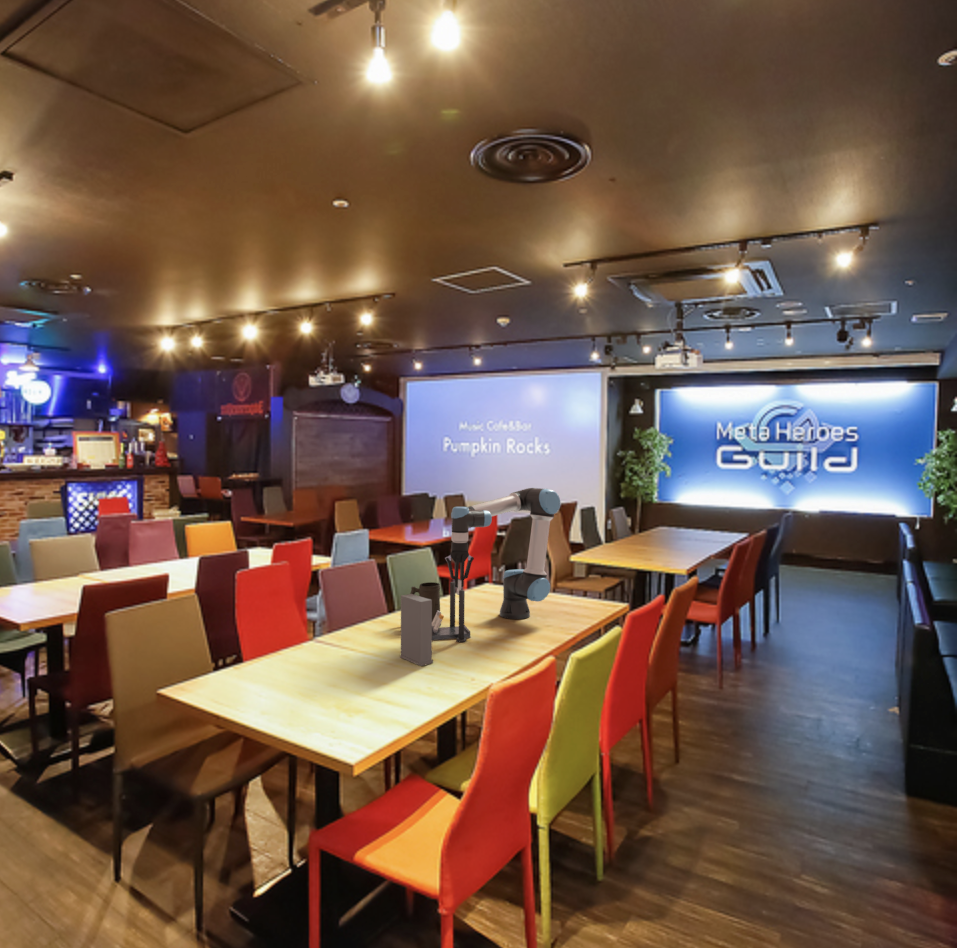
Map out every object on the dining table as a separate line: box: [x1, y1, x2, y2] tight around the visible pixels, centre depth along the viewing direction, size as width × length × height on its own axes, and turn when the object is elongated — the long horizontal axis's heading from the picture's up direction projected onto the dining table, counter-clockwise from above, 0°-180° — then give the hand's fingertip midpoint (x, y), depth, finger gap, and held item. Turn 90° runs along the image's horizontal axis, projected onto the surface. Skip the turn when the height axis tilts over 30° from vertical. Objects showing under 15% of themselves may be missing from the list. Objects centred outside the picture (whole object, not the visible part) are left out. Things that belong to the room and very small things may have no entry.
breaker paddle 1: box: [432, 610, 442, 630], centre depth 292 cm, size 2×4×8 cm, turn 15°
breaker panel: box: [432, 624, 471, 641], centre depth 288 cm, size 24×12×3 cm, turn 105°
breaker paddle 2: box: [433, 613, 445, 633], centre depth 286 cm, size 2×4×8 cm, turn 15°
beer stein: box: [409, 581, 442, 626], centre depth 305 cm, size 15×11×20 cm
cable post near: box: [455, 589, 467, 644], centre depth 280 cm, size 4×4×22 cm
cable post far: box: [449, 581, 456, 627], centre depth 297 cm, size 4×4×22 cm
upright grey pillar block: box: [399, 593, 434, 667], centre depth 254 cm, size 14×6×25 cm, turn 41°
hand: (458, 594), depth 288 cm, fingers closed
